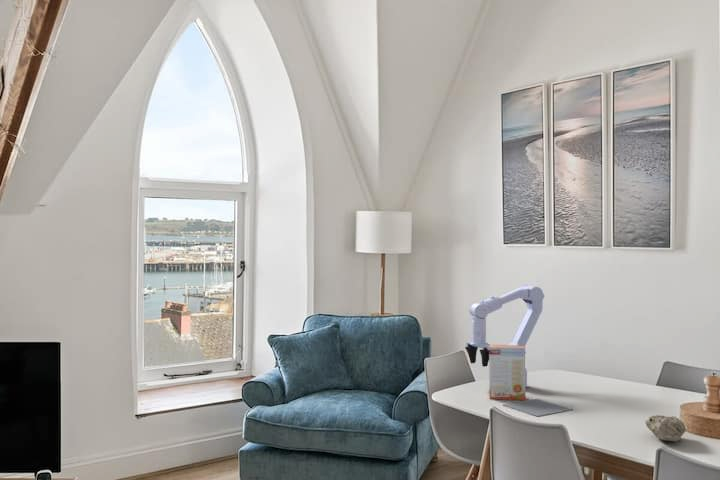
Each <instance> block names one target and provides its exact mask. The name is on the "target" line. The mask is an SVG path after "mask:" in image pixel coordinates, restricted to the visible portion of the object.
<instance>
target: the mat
mask: <svg viewBox="0 0 720 480" xmlns="http://www.w3.org/2000/svg"><path fill="white" fill-rule="evenodd" d="M502 406H503V407H507V408H509V407H510V409H513V410H516V411H518V412H521V413H524V414H528V415H531V416H534V417H537V418H538V417H543V416H549V415H553V414H555V415H556V414H560V413H564V412H569V411H573V410H574V408H570V407H568V406H564V405H560V404H557V403H554V402H550V401H548V400H544V399H540V398H534V399H533V398H532V399H527V400H520V401H516V402H511V403H505V404H502Z"/></svg>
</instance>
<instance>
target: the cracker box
mask: <svg viewBox="0 0 720 480" xmlns="http://www.w3.org/2000/svg"><path fill="white" fill-rule="evenodd" d="M525 351H526V345H525V346H519V345H509V344H490V345H489V361H488V381H489V385H488V386H489V387H488V389H489V390H488V392H489V399H490V400H510V401H511V400H512V401H526V387H525V368H526V354H525Z"/></svg>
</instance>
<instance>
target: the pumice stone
mask: <svg viewBox="0 0 720 480" xmlns="http://www.w3.org/2000/svg"><path fill="white" fill-rule="evenodd" d="M645 426H646V427H647V429H649V430H650V431H651V433H652V434H653V435H654V436H655V437H656V438H657V439H659V440H662V441H668V442H673V443H675V442H677V441H680V440H681V439H682V437H683V436H684V434H685V432H686V430H687V428H686V426H685V423H684V422H683V421H682V420H681V419H680V418H679V417H677V416H673V415H672V416H667V415H659V414H656V415H651V416H648V419H646V420H645Z"/></svg>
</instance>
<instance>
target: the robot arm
mask: <svg viewBox="0 0 720 480" xmlns="http://www.w3.org/2000/svg"><path fill="white" fill-rule="evenodd" d="M544 298H545V294H544V291H543V289H542V288H540V286H533V285H532V286H531V285H528V284H524V285H522V286H518V287H517V288H516V289H513V290H511V291H509V292H507V293H505V294H503V295H501V296H498V295H491V296H489V298H488V299H485V300H480V303H479V302H476V303H473V304H472V305H471V306H470V309H469V310H468V311H469V314H470V315H471V340H470V339H468V340H466V341H465V345H466V346H465V347H464V348H465V350H466V352H467V355H468V358H469V362H470V364H476V361H477V352H478V349H479V353H480V356H481V364H482V367H488V366H489V345H491V344H489V343H488V342H487V320H486V319H487V317H488V315H489V314H491V313H494V312H497V311H499V310H501V309H502V307H503V305H506V304H507V303H511V302H513V301H516V300H518V299H521V300H522V301H523V302H524V303H525V305H526V307H527V311H526V312H525V314H524V316H523V317H524V318H523V320H522V321H521V323H520V325H519V328H518V330H517V332H516V334H515V336H514V337H513V340H512V341H511V342H510V343H508V345H519V346H525V347H526V345H527V343H528V340H529V339H530V337H531V335H532V333H533V331H534V328H535V326H536V325H537V322H538V320H539V318H540V316H541V314H542V312H543V301H544ZM526 354H527V352H526V350H525V355H526ZM528 387H529V385H528V371H527V368H526V367H525V388H528Z"/></svg>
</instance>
